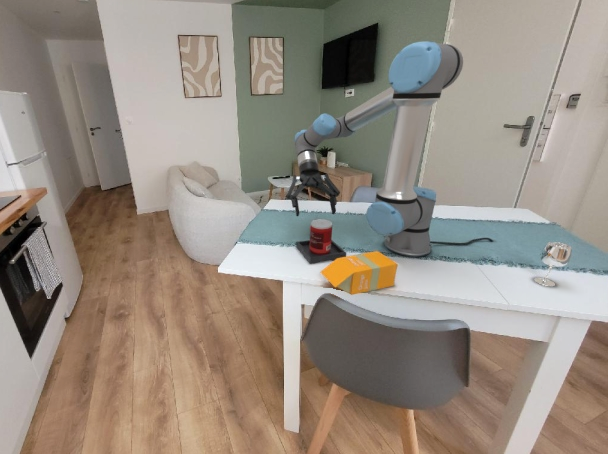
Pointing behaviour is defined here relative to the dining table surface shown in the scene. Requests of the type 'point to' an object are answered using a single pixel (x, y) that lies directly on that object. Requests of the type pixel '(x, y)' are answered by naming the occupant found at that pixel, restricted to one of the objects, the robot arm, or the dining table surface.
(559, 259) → the wineglass
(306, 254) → the base pad
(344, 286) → the orange juice
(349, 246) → the dining table surface
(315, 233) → the canned food
